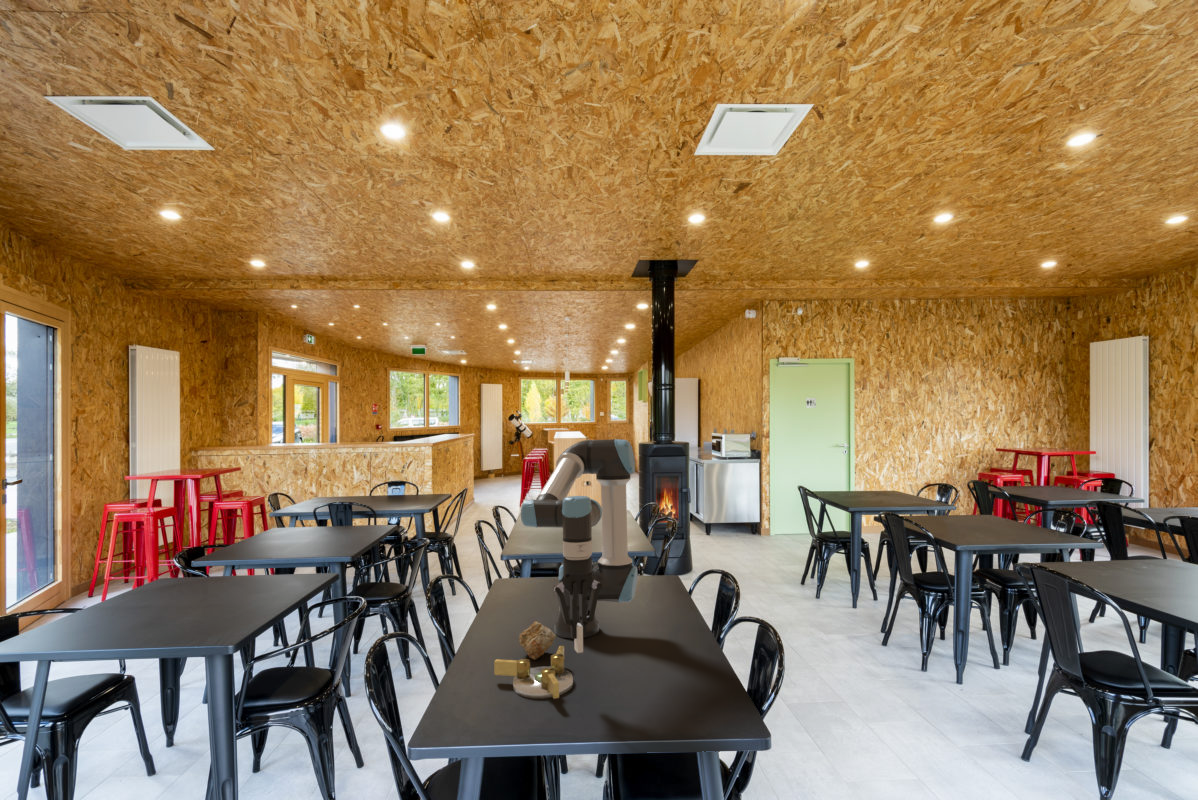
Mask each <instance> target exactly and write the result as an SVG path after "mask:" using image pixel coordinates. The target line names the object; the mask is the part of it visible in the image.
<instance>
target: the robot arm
mask: <svg viewBox="0 0 1198 800" xmlns="http://www.w3.org/2000/svg"><path fill="white" fill-rule="evenodd" d="M635 472H636V460H635V453H634V449H633V446H632V444H631V442H630V441H629V440H627V439H621V438H620V439H618V438H614V439H613V438H612V439H584V440H581V441H578V442H576V443H573V444H572V445H570V446H569V447H567V448H566V449H565V450H564V451H562V453H561V454H560V455H559V456H558V458H557V460H556V462H555V468H554V470H553V471H552V473H551V475H550V477H549V478H548V480H547V481H546V483H545V484H544V486H543V488H542V489H541V491H540V492H539V494H538V495H537V497H536V498H535V499H533V498H532V499H526V500H524V501H523V502H522V504H521V507H520V519H521V523H522V524H523V526H525V527H530V528H531V527H532V528H561V529H562V556H563V557H564V558H563V559H562V564H561V565H560V566H559V569H558V577H557V579H558V584H557V585H553V587H552V589H553V591H554V593H555V594H556V597H557V600H558V605H559V606H558V611H557V615H556V620H555V622H554V624H553V625H554V627H553V628H554V630H553V633H554V634H555V635H556V636H558V637H560V638H564V639H573V643H574V651H575V652H576V653H577V654H581V653H584V638H585V639H586V638H589V637H593V636H594V635H597V634H598V633H599V632H600V625H599V621H598V620H597V616H596V615H597V614H596V609H597V603H598V602H606V603H607V602H611V603H618V604H620V603H630V602H631V601H633V599H634V597H635V593H636V590H637V585H638V584H637V582H638V574H639V573H638V572H639V571H638V567H637V566H636V565H633V559H632V558H631V557H630V556H629V555H628V554H629V553H628V514H627V513H628V511H627V510H628V509H627V508H628V507H627V484H628V483H629V482H630V480H631V475H634V474H635ZM583 475H595V476H596V481H597V482H598V483H599V484H600V498H601V502H600V503H599V502H598V501H597V500H595V499H592V498H590V497H589V496H586V495H570V496H568V495H569V493H570V491H571V489H572V487H573V486H574V485H575V482H576V480H577V479H579V478H580V477H582V476H583ZM600 520H601V553H602V554H601V555H602V556H600V558H599V559H598V560H597V564H594V562H593V558H592V557H591V556H592V554H593V550H592V549H593V547H592V546H593V543H592V542H593V540H592V538H593V537H592V530H593V529H592V527H595V526H596V525H598V524H599V522H600Z"/></svg>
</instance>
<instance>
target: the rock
mask: <svg viewBox="0 0 1198 800" xmlns="http://www.w3.org/2000/svg"><path fill="white" fill-rule="evenodd" d="M556 637H557V635H556V634H555V632H554V630H552V629H550V628H549V627H547V626H546V625H543V624H542V623H541V622H538V621H534V622H533V623H532V624H531V625H529V627H528V628H527V629H524V630H522V632H521V633H520V634H519V636H518V639H519V642H518V643H519V645H520V646H521V647H522V648H523V649H524V651H525V653H526V654H527V656H528V657H529V658H531V660H534V661H536V660H537V659H538V658H540V657H541V656H543V655H544V654H545V652H546V651H548V649H549V648H550V647H551V646H553V645H554V643H553V642H554V641H555V639H556Z"/></svg>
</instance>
